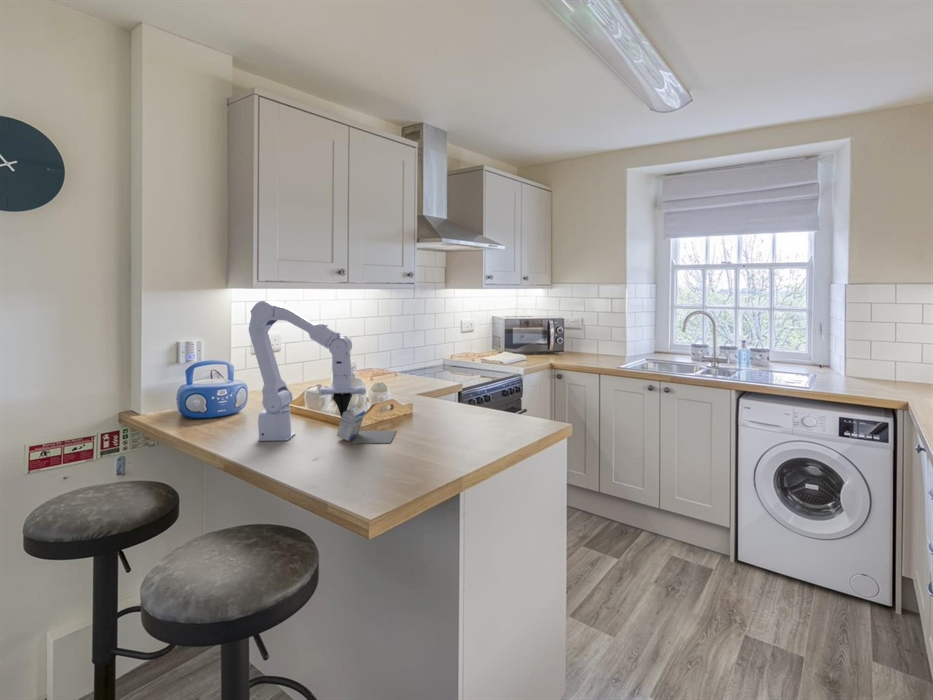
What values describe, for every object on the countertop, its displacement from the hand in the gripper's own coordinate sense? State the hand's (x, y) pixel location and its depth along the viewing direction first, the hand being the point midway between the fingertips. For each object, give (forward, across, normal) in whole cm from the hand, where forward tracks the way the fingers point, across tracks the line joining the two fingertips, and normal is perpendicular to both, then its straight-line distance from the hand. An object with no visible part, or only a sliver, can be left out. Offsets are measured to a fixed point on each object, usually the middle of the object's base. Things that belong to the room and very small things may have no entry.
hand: (343, 416), depth 164 cm
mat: (+7, +10, 0) cm, 12 cm away
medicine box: (+6, +1, 0) cm, 6 cm away
